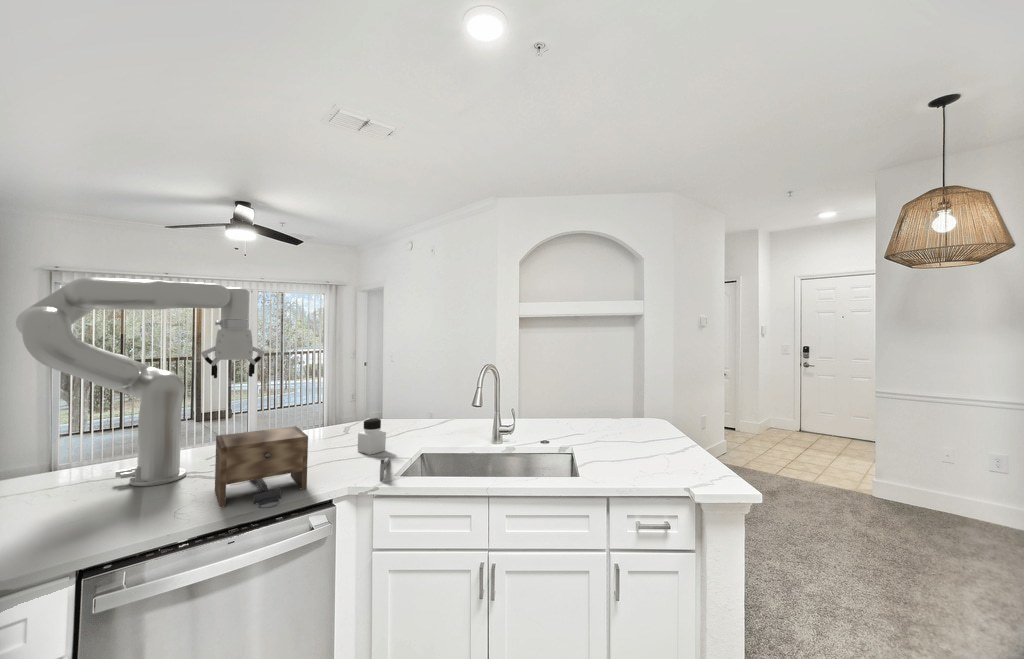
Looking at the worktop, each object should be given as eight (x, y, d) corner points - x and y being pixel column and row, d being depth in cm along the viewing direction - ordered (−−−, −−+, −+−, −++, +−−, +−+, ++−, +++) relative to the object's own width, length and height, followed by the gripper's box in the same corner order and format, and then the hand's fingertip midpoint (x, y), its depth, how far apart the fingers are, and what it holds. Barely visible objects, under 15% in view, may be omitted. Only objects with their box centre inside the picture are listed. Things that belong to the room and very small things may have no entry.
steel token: (270, 510, 103) (270, 506, 103) (254, 508, 104) (254, 504, 104) (282, 503, 108) (282, 499, 108) (267, 501, 108) (267, 497, 108)
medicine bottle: (385, 450, 154) (386, 418, 154) (370, 455, 148) (370, 421, 148) (372, 447, 158) (373, 416, 158) (357, 451, 152) (358, 419, 152)
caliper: (383, 481, 124) (384, 460, 124) (379, 482, 124) (380, 461, 124) (389, 460, 144) (390, 442, 144) (386, 460, 144) (386, 442, 144)
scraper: (254, 504, 106) (254, 480, 106) (239, 473, 127) (240, 453, 127) (280, 498, 109) (281, 476, 109) (262, 469, 131) (262, 450, 131)
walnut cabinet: (220, 509, 102) (221, 448, 102) (214, 490, 114) (216, 435, 114) (307, 491, 115) (309, 437, 115) (294, 475, 127) (296, 426, 127)
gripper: (202, 324, 128) (201, 379, 128) (266, 325, 139) (265, 376, 139) (201, 324, 133) (199, 377, 133) (262, 325, 145) (261, 374, 145)
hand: (233, 377), depth 136 cm, fingers open, 9 cm apart
